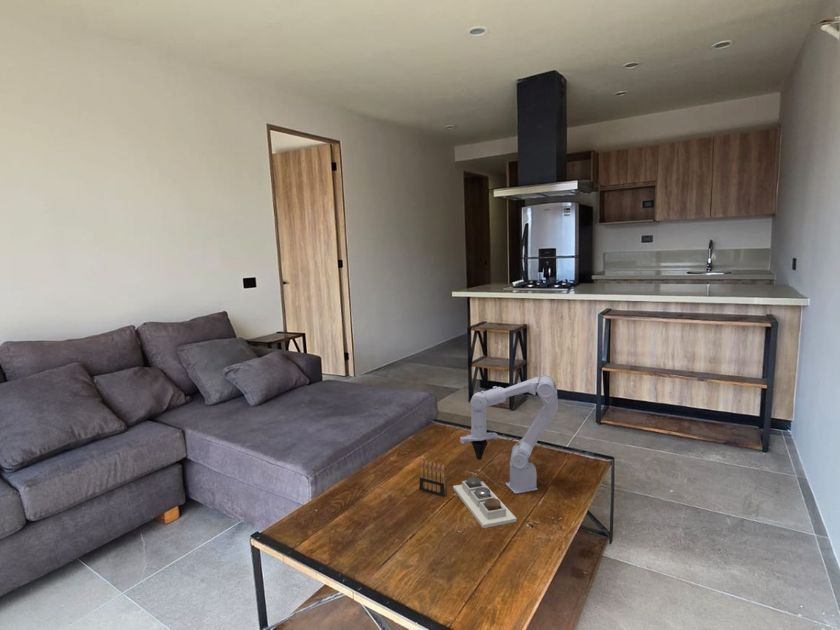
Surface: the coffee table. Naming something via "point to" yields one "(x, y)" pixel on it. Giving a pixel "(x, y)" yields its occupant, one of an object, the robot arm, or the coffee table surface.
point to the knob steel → (482, 492)
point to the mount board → (483, 506)
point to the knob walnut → (492, 504)
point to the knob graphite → (473, 482)
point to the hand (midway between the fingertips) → (478, 458)
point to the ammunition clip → (432, 479)
